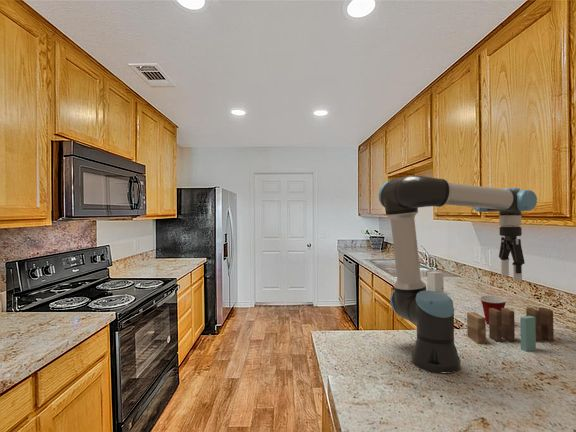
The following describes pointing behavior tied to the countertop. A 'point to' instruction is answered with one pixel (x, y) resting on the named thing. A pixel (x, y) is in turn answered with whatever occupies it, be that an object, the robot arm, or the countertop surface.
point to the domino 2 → (508, 324)
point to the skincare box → (435, 281)
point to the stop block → (476, 327)
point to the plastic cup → (492, 304)
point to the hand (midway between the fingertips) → (511, 278)
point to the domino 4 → (528, 333)
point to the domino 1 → (495, 325)
